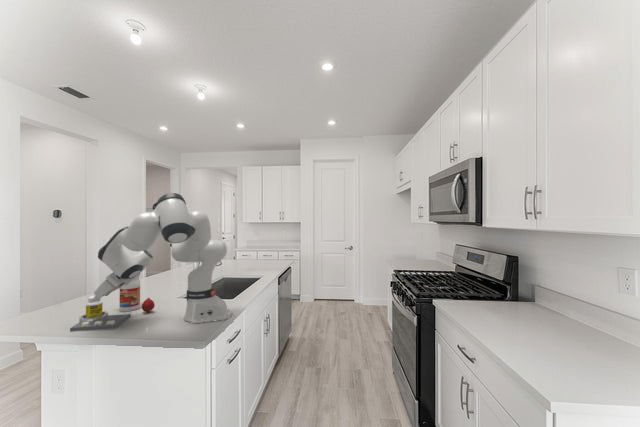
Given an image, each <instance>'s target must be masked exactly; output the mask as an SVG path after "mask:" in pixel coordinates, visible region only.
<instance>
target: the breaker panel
mask: <svg viewBox="0 0 640 427" xmlns="http://www.w3.org/2000/svg"><path fill="white" fill-rule="evenodd" d="M131 317H132V314H131V313H126V314H124V313H123V314H108V319H106V320H105V321H103V322H102V321H96V322H95V323H94V324H90V322H84V323H82V324H81V323H79V322H78V323H76V324H75V325H72V326H71V327H70V328H69V331H70V332H78V331H79V332H80V331H94V330H95V331H96V330H98V331H99V330H111V329H112V330H113V329H115V330H116V329H117V328H119V327H120V326H121V325H123V324H124V323H125V322H126V321H128V320H129V319H130V318H131Z"/></svg>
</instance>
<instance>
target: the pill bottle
mask: <svg viewBox="0 0 640 427" xmlns="http://www.w3.org/2000/svg"><path fill="white" fill-rule="evenodd" d="M94 297H95V295H91V296H89V297H88V298H87V301H88V302H86V304H85V314H86V318H95V317H99V316H102V311H103V303H104V302H103V301H102V297H101V298H99V299H98V300H97V301H96V302H94V301H93V300H92V299H93V298H94Z"/></svg>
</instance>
